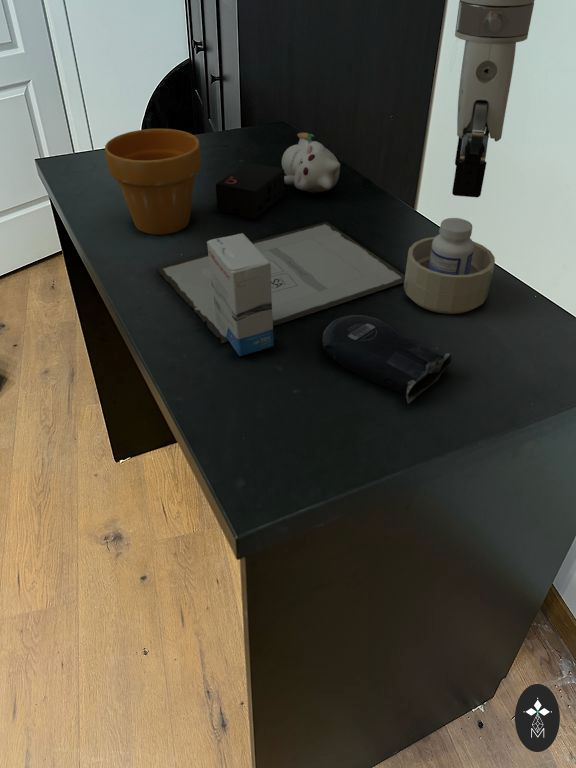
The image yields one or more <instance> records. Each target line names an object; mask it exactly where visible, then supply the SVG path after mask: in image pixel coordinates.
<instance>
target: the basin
mask: <svg viewBox="0 0 576 768" xmlns="http://www.w3.org/2000/svg"><path fill="white" fill-rule="evenodd" d="M435 237H436V236H430V237H426V238H421V239H419V240H418V241H415V242H414V243H413V244H412V245H410V247H409V248H408V251H407V258H406V259H407V260H406V266H405V272H404V273H405V274H404V275H405V281H404V282H403V290H404V292H405V295H406V296H407V297H408V298H409V299H411V300H412V301H413V302H414V303H415V304H416V305H418V306H419V307H421V308H423V309H425V310H428V311H431V312H434V313H439V314H446V315H452V314H453V315H455V314H456V315H457V314H463V313H466V312H470V311H472V310H475V309H476V308H478V307H480V306H482V305H483V304H484V302H485V301H486V300H487V298H488V296H489V292H490V287H491V282H492V278H493V274H494V269H495V265H496V260H495V259H496V258H495V256H494V254H493V253H492V251H491V250H490V249H488V248H487V247H486V246H485V245H482V244H480V243H478V242H476V241H473V240H472V241H473V243H474V251H473V256H472V261H471V266H470V271H469V274H468V275H451V274H443V273H439V272H436V271H432V270H430V269H428V268H429V261H430V255H431V248H432V242H433V239H434V238H435Z"/></svg>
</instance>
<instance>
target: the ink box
mask: <svg viewBox="0 0 576 768" xmlns="http://www.w3.org/2000/svg"><path fill="white" fill-rule="evenodd" d="M251 242H252V241H251V240H250V239H249V238H248V237H247V236H246V235H245V234H244V233H243V232H241V233H236V234H233V235H228V236H222V237H217V238H213V239H209V240H207V241H206V246H207V254H208V255H209V263H210V271H211V280H212V289H213V299H214V307H215V316H216V323H217V324H218V326H219V327H220V328H221V330H222V331H223V333H224V334H225V336H226V337H227V339H228V340H229V341H228V342H229V344H230V345H231V347H232V348H233V349H234V351H235V352H236V354H237V355H238V357H243V356H246V355H249V354H253V353H257V352H260V351H264V350H266V349H269V348H272V347H274V346H275V343H274V341H275V340H274V326H273V317H272V292H271V268H270V267H271V266H270V262H269V261H268V260H267V259H266V258H265V257H264V256H263V254H262V253H261V252H260V251H259V250H258V249H257V248H256V247H255V246H254V245H253V244H252V243H251Z"/></svg>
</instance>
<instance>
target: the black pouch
mask: <svg viewBox="0 0 576 768" xmlns="http://www.w3.org/2000/svg"><path fill="white" fill-rule="evenodd" d="M321 341H322V342H321V343H322V347H323V350H324V351H325V353H326V354H327V355H328V356H329V357H330V358H332V360H334V361H336V363H338V364H340V365H341V367H343V368H345V369H347V370H349V371H351V372H352V373H353V372H354V373H355V374H357V375H359V376H361V377H363V378H364V379H366V380H369V381H371V382H374V383H375V384H378V385H380V386H383V387H386V388H388V389H390V390H392V391H396V392H398V393H400V394H402V395H404V396H405V398H406V402H407V404H408V405H409V404H410V403H411V402H412V401H414V400H415V399H416V398H417V397H418V396H419V395H420V394H421V393H423V392H424V391H426V390H427V389H428V388H430V387H431V386H432V385H434V384H435V383H436V382H438V381H439V379H440V377H441V375H442V374H443V372H444V371H445V370H446V369H447V368H448V367H449V365H450V364H452V363H453V361H452V358H453V356H452V355H451V353H449V352H447V353H441V352H438V351H435V350H433V349H431V348H429V347H427V346H425V345H423V344H421V343H419V342H418V341H416V340H415V339H412V338H410V337H408V336H406V335H405V334H403V333H402V332H400V331H398V330H396V329H395V328H393V327H392V326H391V325H389V324H388V323H387V322H385V321H383V320H382V319H380V318H378V317H372V316H369V315H362V314H350V315H344V316H341V317H338V318H336V319H334V320H332V321H331V322H330V323H329V324H328V326H326V328H325V329H324V331H323V334H322V339H321Z"/></svg>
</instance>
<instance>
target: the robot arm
mask: <svg viewBox="0 0 576 768" xmlns="http://www.w3.org/2000/svg"><path fill="white" fill-rule="evenodd" d="M534 5H535V0H459V2H458V9H457V16H456V22H455V23H456V24H455V31H454V36H455V38H458V39H459V40H463V41H465V42H464V47H463V55H462V63H461V71H460V79H459V87H458V88H459V89H458V97H457V116H456V117H457V118H456V136H457V137H458V139H457V146H456V153H455V160H454V165H455V172H454V179H453V185H452V192H451V193H452V195H453V196H455V197H465V198H479V197H481V195H482V189H483V184H484V180H485V173H486V167H487V161H486V158H487V152H488V144H489V138H490V139H494V142H499V141H500V140H501V139H502V136H503V131H504V123H505V117H506V112H507V106H508V100H509V95H510V89H511V84H512V78H513V72H514V64H515V59H516V58H515V57H516V50H517V49H516V47H517V43H521V42H524V41H526V40H528V36H529V32H530V27H531V21H532V16H533V11H534Z"/></svg>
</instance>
